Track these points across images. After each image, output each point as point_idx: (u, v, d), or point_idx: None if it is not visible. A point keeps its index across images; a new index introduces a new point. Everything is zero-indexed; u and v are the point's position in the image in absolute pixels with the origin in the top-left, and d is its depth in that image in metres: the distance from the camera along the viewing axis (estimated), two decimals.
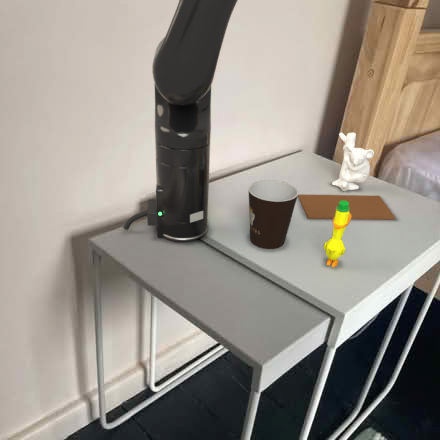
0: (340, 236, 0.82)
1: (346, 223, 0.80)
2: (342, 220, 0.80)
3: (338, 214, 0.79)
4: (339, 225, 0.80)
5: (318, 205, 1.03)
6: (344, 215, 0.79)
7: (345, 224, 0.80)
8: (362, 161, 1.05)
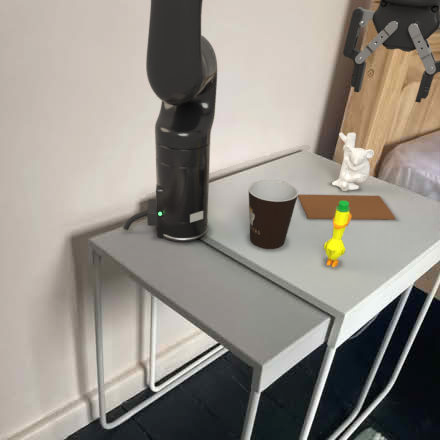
0: (340, 236, 0.82)
1: (346, 223, 0.80)
2: (342, 220, 0.80)
3: (338, 214, 0.79)
4: (339, 225, 0.80)
5: (318, 205, 1.03)
6: (344, 215, 0.79)
7: (345, 224, 0.80)
8: (362, 161, 1.05)
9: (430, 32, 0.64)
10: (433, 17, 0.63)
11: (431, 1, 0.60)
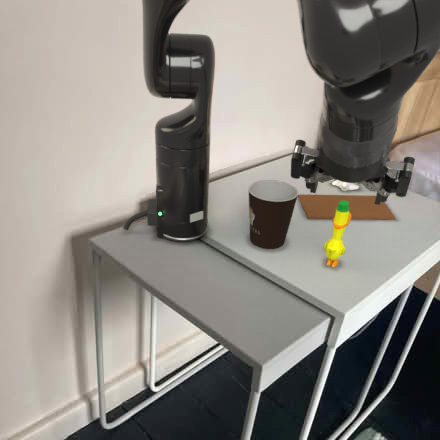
0: (340, 236, 0.82)
1: (346, 223, 0.80)
2: (342, 220, 0.80)
3: (338, 214, 0.79)
4: (339, 225, 0.80)
5: (318, 205, 1.03)
6: (344, 215, 0.79)
7: (345, 224, 0.80)
8: None
9: (378, 177, 0.58)
10: (379, 171, 0.56)
11: (372, 176, 0.54)
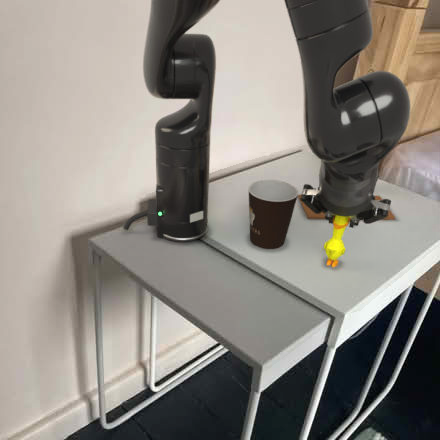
0: (340, 236, 0.82)
1: (346, 223, 0.80)
2: (342, 220, 0.80)
3: None
4: (339, 225, 0.80)
5: None
6: None
7: (345, 224, 0.80)
8: None
9: (366, 210, 0.73)
10: (368, 207, 0.72)
11: (360, 212, 0.70)
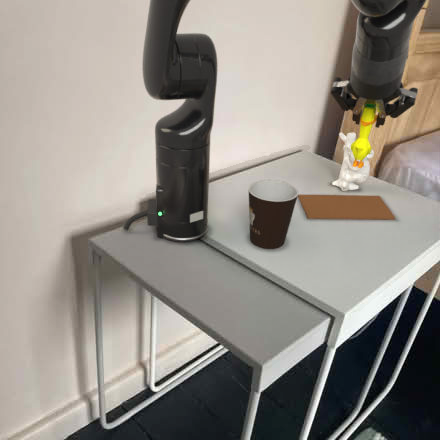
0: (367, 134, 0.86)
1: (373, 120, 0.84)
2: (369, 116, 0.84)
3: (366, 110, 0.83)
4: (366, 122, 0.84)
5: (318, 205, 1.03)
6: (371, 111, 0.83)
7: (372, 121, 0.84)
8: (362, 161, 1.05)
9: None
10: (396, 93, 0.76)
11: (389, 95, 0.74)
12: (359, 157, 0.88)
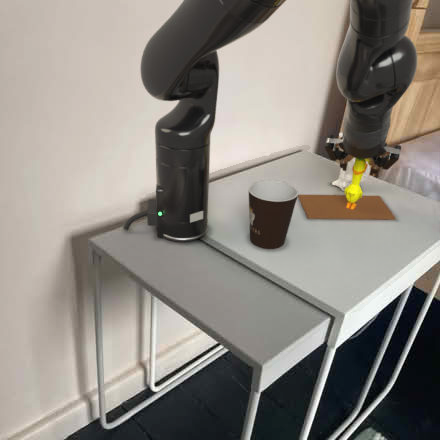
0: (358, 181, 0.99)
1: (364, 170, 0.97)
2: (360, 167, 0.97)
3: (357, 162, 0.96)
4: (358, 171, 0.97)
5: (318, 205, 1.03)
6: (362, 162, 0.96)
7: (363, 170, 0.97)
8: None
9: (380, 155, 0.91)
10: (381, 152, 0.89)
11: (375, 154, 0.87)
12: (352, 200, 1.01)
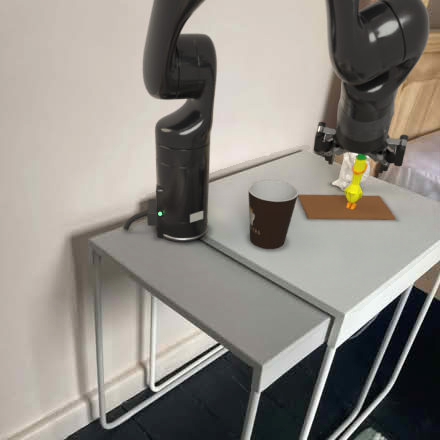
0: (358, 181, 0.99)
1: (364, 170, 0.97)
2: (360, 167, 0.97)
3: (357, 162, 0.96)
4: (358, 171, 0.97)
5: (318, 205, 1.03)
6: (362, 162, 0.96)
7: (363, 171, 0.97)
8: None
9: (381, 150, 0.77)
10: (381, 145, 0.75)
11: (375, 149, 0.73)
12: (352, 200, 1.01)
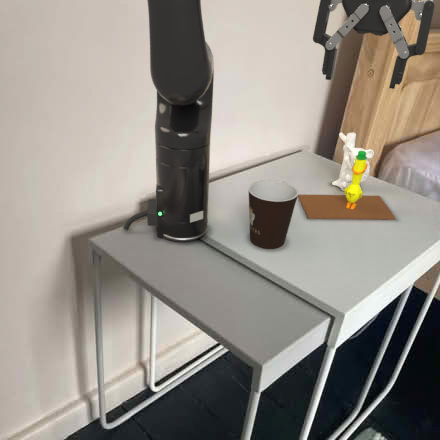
0: (358, 181, 0.99)
1: (364, 170, 0.97)
2: (360, 167, 0.97)
3: (357, 162, 0.96)
4: (358, 171, 0.97)
5: (318, 205, 1.03)
6: (362, 162, 0.96)
7: (363, 171, 0.97)
8: None
9: (402, 15, 0.61)
10: None
11: None
12: (352, 200, 1.01)
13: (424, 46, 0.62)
